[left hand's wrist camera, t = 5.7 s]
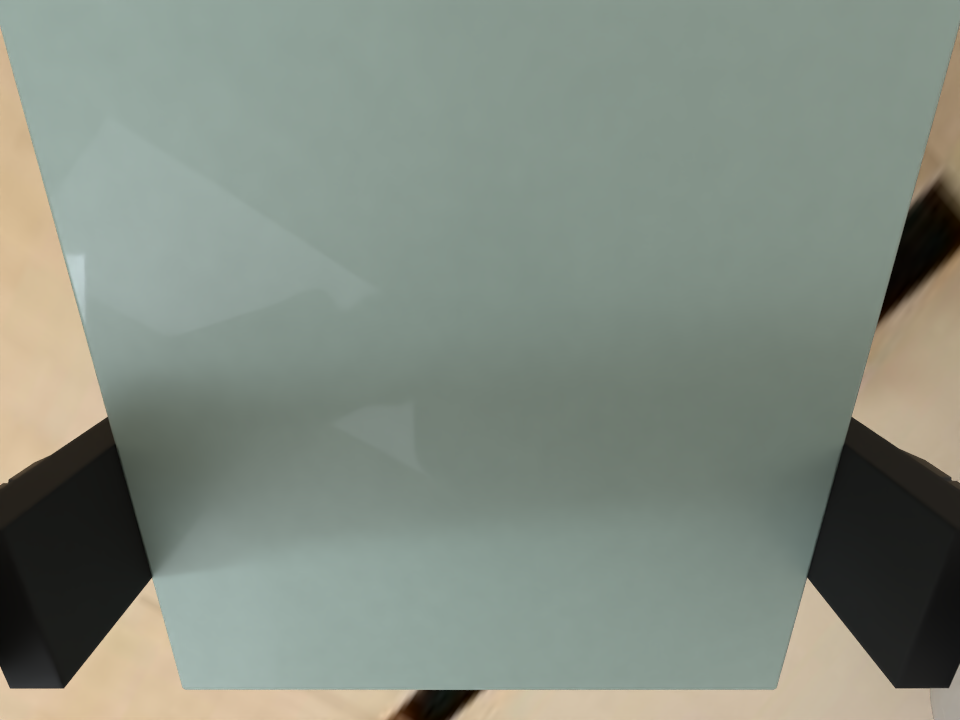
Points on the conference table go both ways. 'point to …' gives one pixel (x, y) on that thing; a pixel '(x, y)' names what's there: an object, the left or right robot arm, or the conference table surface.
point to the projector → (946, 700)
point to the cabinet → (479, 317)
